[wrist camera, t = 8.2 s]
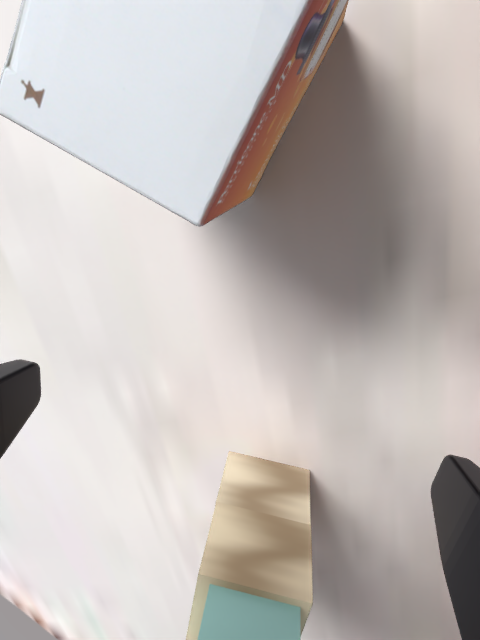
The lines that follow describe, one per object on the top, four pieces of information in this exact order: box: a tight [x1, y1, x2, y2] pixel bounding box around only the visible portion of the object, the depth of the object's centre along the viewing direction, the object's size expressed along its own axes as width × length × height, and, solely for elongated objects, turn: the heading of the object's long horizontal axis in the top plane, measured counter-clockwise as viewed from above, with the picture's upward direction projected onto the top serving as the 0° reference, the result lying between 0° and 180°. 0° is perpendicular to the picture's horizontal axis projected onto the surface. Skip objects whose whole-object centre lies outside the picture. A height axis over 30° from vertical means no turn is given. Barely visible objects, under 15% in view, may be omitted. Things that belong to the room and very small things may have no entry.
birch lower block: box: [215, 451, 311, 525], centre depth 24 cm, size 5×5×4 cm
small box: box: [0, 0, 349, 227], centre depth 13 cm, size 8×6×10 cm
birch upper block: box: [186, 502, 313, 640], centre depth 20 cm, size 5×5×4 cm
